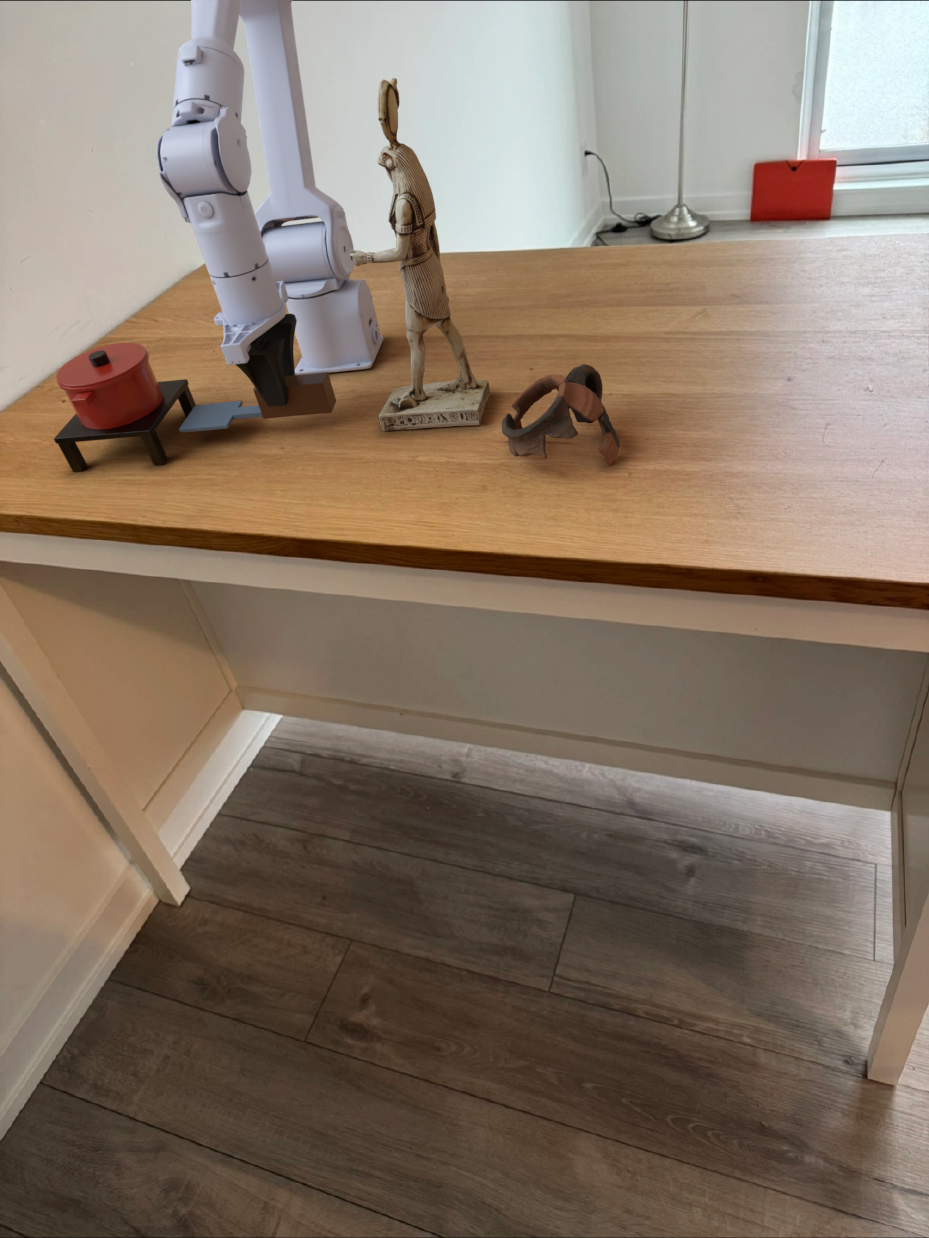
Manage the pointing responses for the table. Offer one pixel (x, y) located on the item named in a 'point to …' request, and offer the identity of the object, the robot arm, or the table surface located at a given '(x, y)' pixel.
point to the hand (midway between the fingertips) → (282, 397)
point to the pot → (116, 400)
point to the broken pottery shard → (561, 413)
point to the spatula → (303, 399)
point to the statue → (420, 290)
